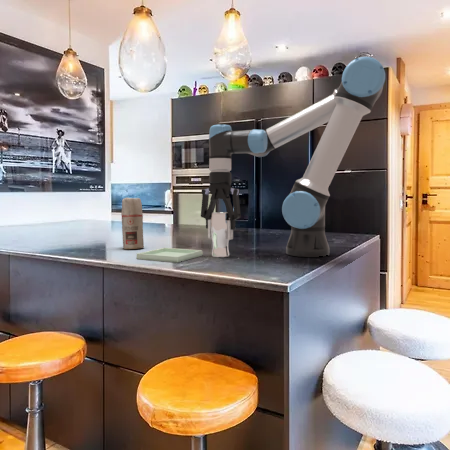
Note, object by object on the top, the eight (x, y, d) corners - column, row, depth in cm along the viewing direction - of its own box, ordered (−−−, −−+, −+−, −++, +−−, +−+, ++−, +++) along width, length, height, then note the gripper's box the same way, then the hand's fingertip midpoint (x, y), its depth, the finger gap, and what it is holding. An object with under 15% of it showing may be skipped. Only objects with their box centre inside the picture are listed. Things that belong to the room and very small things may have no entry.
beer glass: (228, 257, 137) (228, 213, 136) (208, 257, 139) (208, 213, 137) (232, 254, 144) (232, 212, 143) (213, 254, 145) (213, 212, 144)
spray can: (117, 249, 157) (116, 197, 156) (130, 246, 165) (129, 197, 163) (136, 250, 154) (135, 197, 153) (148, 247, 162) (147, 197, 160)
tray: (202, 255, 142) (202, 250, 142) (177, 262, 128) (177, 257, 128) (164, 252, 149) (164, 247, 149) (136, 259, 135) (136, 253, 135)
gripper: (251, 171, 138) (251, 239, 140) (200, 172, 147) (201, 236, 149) (242, 170, 131) (242, 241, 133) (189, 171, 140) (190, 238, 142)
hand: (220, 238), depth 141 cm, fingers closed on beer glass, 7 cm apart
